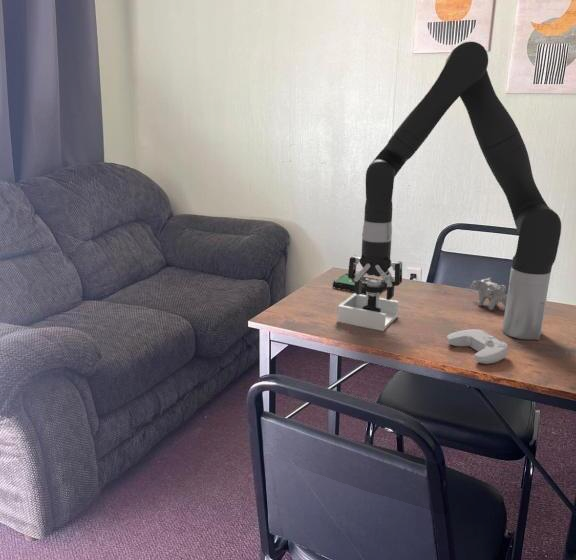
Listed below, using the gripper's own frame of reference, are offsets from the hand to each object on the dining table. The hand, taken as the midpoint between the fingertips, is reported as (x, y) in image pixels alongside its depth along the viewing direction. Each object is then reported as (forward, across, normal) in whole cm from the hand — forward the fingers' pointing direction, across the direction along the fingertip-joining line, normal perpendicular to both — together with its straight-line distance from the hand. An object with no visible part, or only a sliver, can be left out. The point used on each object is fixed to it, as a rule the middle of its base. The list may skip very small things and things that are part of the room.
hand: (373, 296), depth 150 cm
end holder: (+7, +1, 0) cm, 7 cm away
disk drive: (+7, +13, -25) cm, 29 cm away
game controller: (+7, -29, +7) cm, 31 cm away
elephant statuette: (+7, -25, -29) cm, 39 cm away
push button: (+6, +1, 0) cm, 6 cm away
